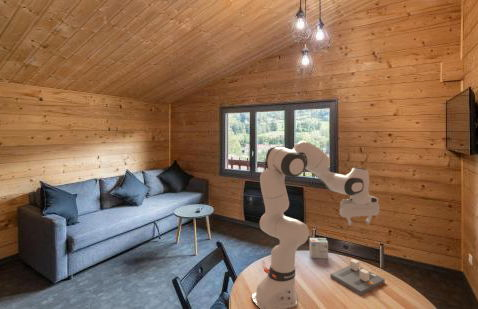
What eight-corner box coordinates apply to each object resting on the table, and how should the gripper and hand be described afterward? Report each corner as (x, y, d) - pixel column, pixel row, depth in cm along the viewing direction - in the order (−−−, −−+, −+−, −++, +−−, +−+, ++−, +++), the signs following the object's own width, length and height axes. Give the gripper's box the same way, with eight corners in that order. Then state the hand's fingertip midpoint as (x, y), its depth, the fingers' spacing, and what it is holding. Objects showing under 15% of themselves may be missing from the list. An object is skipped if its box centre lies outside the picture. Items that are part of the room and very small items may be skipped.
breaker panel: (361, 295, 122) (361, 290, 122) (330, 277, 138) (330, 273, 138) (384, 282, 133) (384, 278, 132) (353, 267, 148) (353, 263, 148)
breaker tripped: (365, 281, 129) (365, 273, 129) (359, 278, 132) (359, 270, 132) (369, 280, 131) (369, 271, 130) (362, 276, 134) (363, 268, 133)
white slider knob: (355, 270, 140) (355, 263, 139) (350, 268, 142) (350, 260, 142) (359, 269, 141) (359, 261, 141) (353, 266, 144) (353, 259, 144)
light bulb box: (325, 253, 164) (326, 237, 163) (328, 259, 158) (328, 242, 157) (308, 253, 165) (309, 237, 164) (310, 258, 159) (311, 241, 158)
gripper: (343, 201, 128) (343, 227, 130) (381, 198, 130) (380, 224, 131) (337, 197, 134) (337, 223, 136) (373, 195, 136) (373, 220, 138)
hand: (359, 223), depth 134 cm, fingers open, 8 cm apart
